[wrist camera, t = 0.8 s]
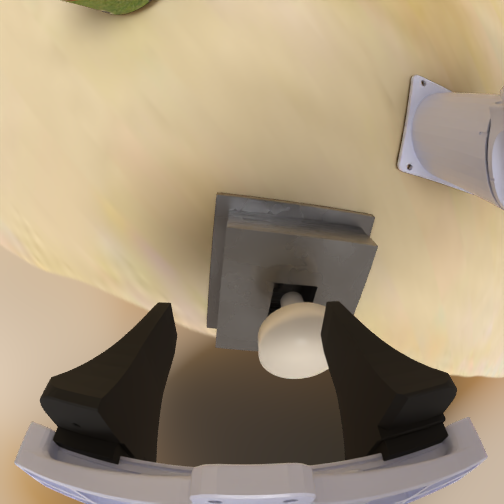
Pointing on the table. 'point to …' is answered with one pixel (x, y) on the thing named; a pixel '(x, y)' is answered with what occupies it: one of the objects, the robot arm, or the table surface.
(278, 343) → the plunger
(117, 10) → the beverage can
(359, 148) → the table surface
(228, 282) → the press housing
